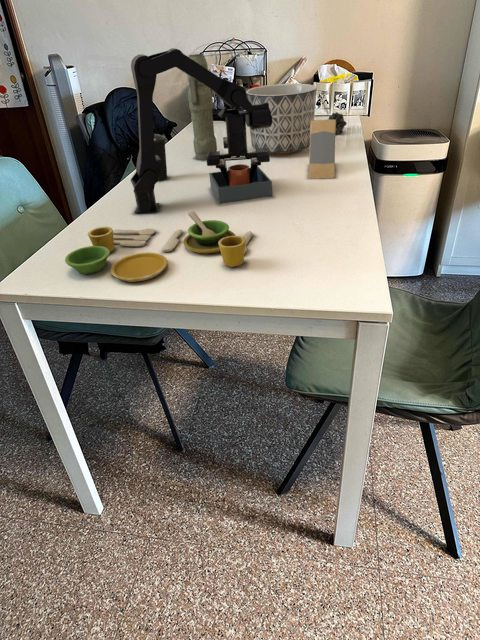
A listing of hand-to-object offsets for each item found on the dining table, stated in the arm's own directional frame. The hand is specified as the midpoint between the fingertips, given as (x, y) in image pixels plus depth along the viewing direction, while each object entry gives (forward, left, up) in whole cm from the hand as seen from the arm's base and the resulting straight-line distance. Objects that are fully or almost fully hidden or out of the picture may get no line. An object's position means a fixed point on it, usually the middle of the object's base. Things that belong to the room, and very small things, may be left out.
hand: (239, 185), depth 139 cm
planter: (+46, -17, -3) cm, 49 cm away
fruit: (+70, -43, -3) cm, 82 cm away
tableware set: (-41, +19, -3) cm, 45 cm away
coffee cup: (0, 0, -2) cm, 2 cm away
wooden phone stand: (+16, -28, -3) cm, 32 cm away
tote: (0, 0, -2) cm, 2 cm away
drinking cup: (+20, +28, -3) cm, 35 cm away
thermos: (+44, +13, -3) cm, 46 cm away
